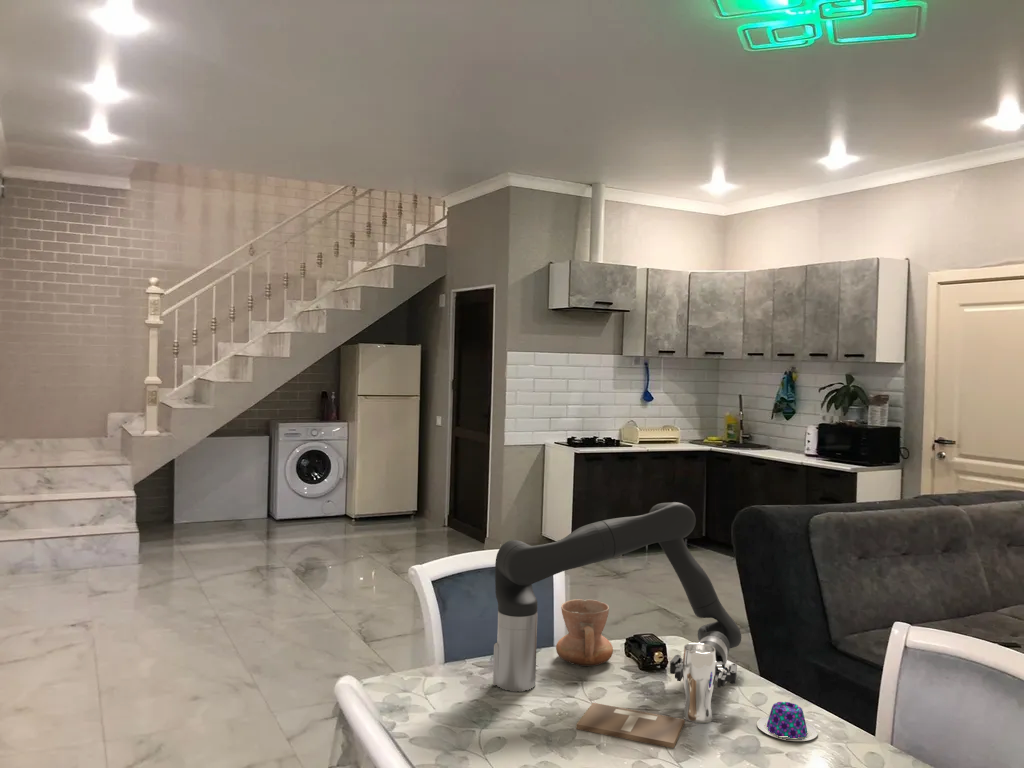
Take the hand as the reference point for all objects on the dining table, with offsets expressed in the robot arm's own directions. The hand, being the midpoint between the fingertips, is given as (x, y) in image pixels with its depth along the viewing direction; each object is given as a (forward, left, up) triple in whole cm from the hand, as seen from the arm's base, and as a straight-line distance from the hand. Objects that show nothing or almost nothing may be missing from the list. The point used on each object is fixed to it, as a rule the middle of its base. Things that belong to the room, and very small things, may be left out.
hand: (698, 680), depth 171 cm
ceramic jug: (-32, +22, -8) cm, 39 cm away
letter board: (-12, -11, -8) cm, 18 cm away
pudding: (+18, +2, -9) cm, 20 cm away
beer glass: (0, 0, -8) cm, 8 cm away
